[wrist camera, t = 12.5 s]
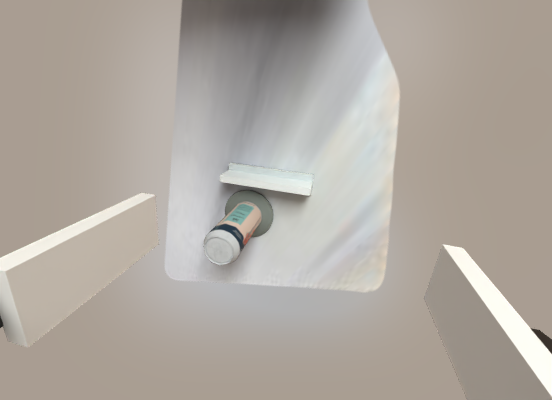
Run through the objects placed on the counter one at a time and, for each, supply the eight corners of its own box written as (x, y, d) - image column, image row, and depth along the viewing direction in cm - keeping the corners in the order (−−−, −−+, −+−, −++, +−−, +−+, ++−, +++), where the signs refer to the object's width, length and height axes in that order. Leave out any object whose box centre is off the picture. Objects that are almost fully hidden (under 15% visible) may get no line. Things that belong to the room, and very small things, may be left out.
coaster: (226, 186, 44) (225, 187, 44) (275, 194, 43) (274, 195, 43) (225, 231, 47) (224, 232, 47) (271, 239, 46) (270, 240, 45)
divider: (230, 162, 43) (220, 168, 39) (314, 174, 41) (311, 181, 37) (229, 181, 44) (219, 188, 40) (311, 193, 42) (308, 202, 38)
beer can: (241, 230, 46) (210, 271, 35) (229, 205, 45) (193, 238, 34) (267, 223, 45) (243, 263, 33) (255, 196, 43) (227, 229, 32)
